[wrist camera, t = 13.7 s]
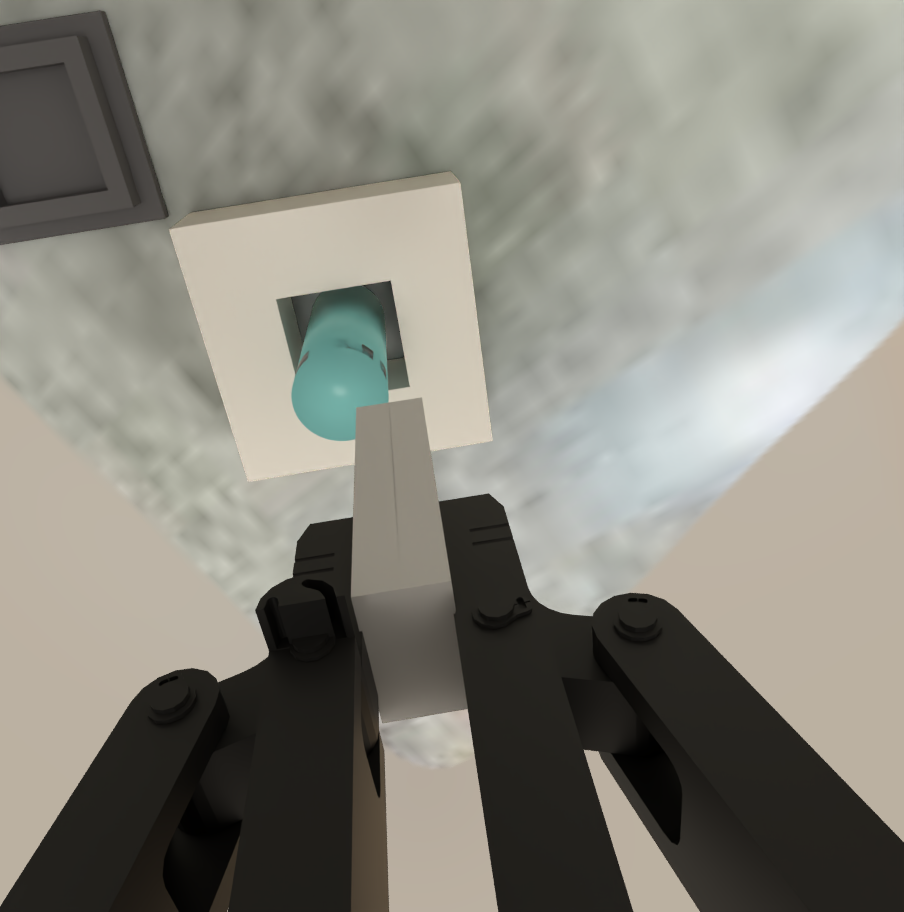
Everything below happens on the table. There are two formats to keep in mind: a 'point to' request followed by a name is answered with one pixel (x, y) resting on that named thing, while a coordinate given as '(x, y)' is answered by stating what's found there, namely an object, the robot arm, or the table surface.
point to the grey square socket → (69, 133)
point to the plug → (341, 362)
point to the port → (329, 268)
